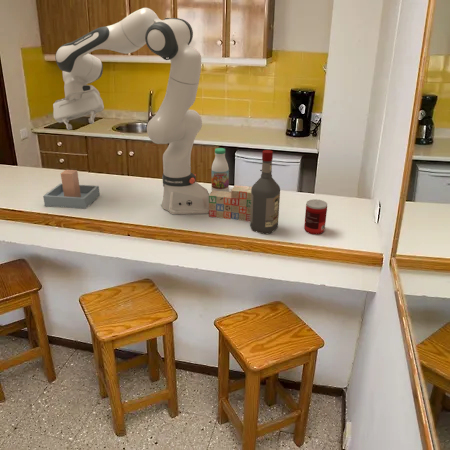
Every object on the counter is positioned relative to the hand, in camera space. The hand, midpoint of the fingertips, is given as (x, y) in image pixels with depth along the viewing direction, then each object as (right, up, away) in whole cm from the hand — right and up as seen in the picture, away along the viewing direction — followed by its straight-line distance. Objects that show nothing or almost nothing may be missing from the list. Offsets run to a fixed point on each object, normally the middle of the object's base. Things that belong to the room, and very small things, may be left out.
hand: (80, 126), depth 178 cm
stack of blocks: (+61, -36, +4) cm, 71 cm away
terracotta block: (-9, -27, +17) cm, 33 cm away
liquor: (+72, -40, -6) cm, 82 cm away
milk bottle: (+55, -24, +28) cm, 66 cm away
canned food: (+90, -41, -7) cm, 100 cm away
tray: (-9, -28, +17) cm, 34 cm away
